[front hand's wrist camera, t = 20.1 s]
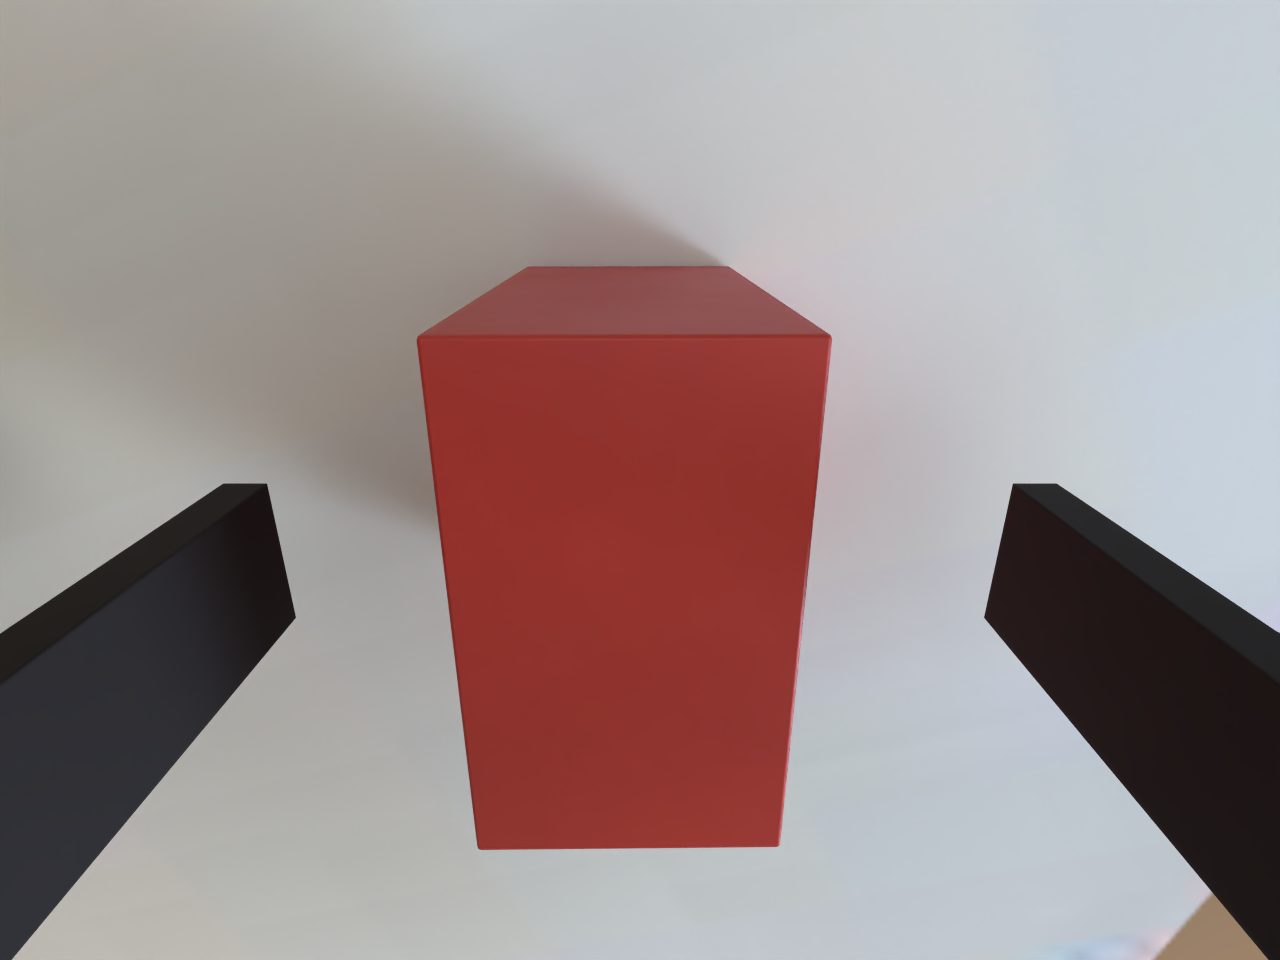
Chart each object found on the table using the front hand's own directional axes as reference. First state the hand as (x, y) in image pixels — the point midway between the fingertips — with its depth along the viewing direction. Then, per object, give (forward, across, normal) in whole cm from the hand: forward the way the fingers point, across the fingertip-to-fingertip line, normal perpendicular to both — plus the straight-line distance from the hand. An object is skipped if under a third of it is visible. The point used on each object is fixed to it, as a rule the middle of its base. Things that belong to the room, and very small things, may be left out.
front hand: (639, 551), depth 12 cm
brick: (+7, 0, 0) cm, 7 cm away
